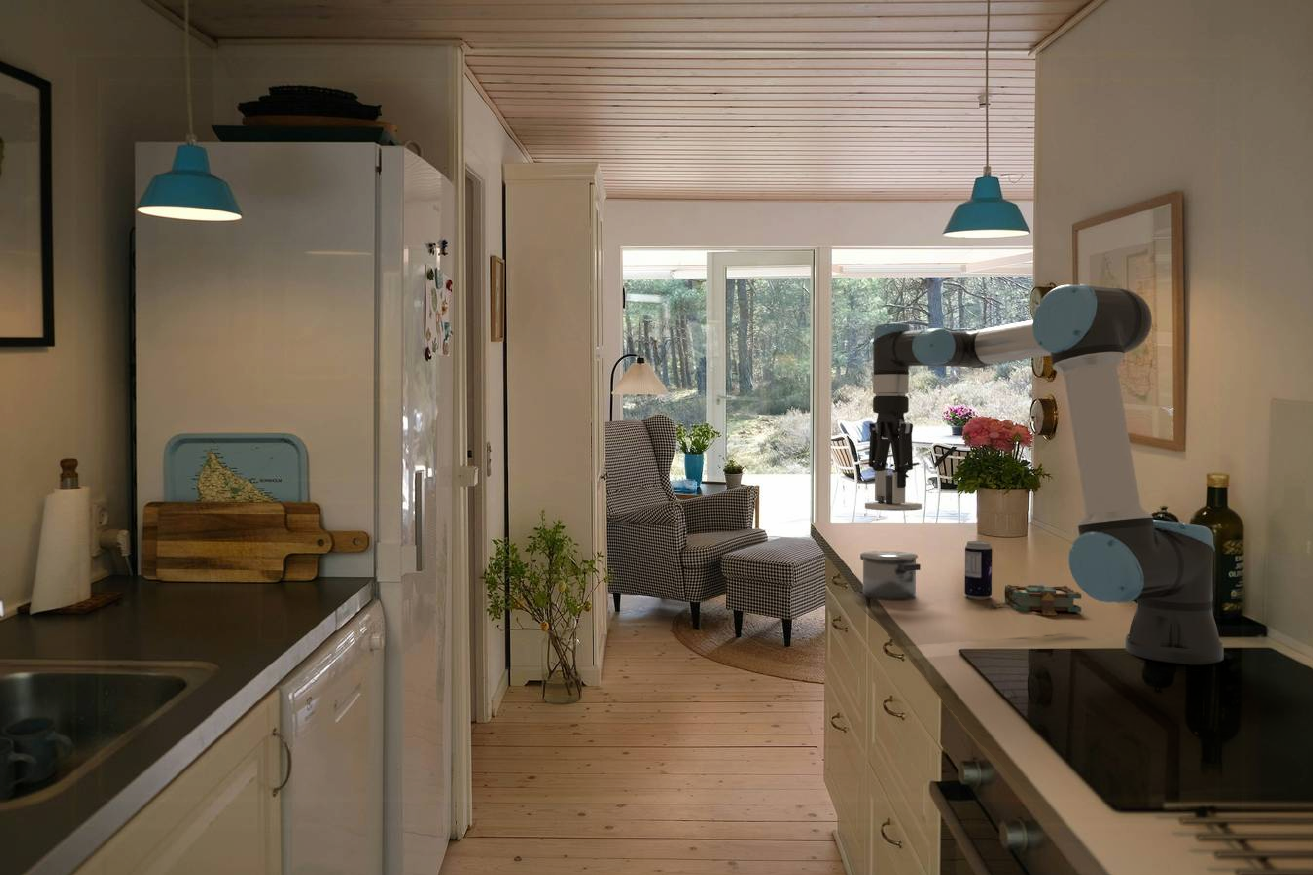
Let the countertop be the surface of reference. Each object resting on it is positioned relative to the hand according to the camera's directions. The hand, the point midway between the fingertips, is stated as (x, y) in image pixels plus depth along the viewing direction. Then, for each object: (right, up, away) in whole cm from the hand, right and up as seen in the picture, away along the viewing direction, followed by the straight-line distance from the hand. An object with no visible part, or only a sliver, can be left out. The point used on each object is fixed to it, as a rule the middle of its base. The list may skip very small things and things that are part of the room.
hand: (889, 501), depth 221 cm
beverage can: (+19, -21, -1) cm, 28 cm away
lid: (0, -1, -2) cm, 2 cm away
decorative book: (+26, -22, -12) cm, 36 cm away
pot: (0, -21, 0) cm, 21 cm away
